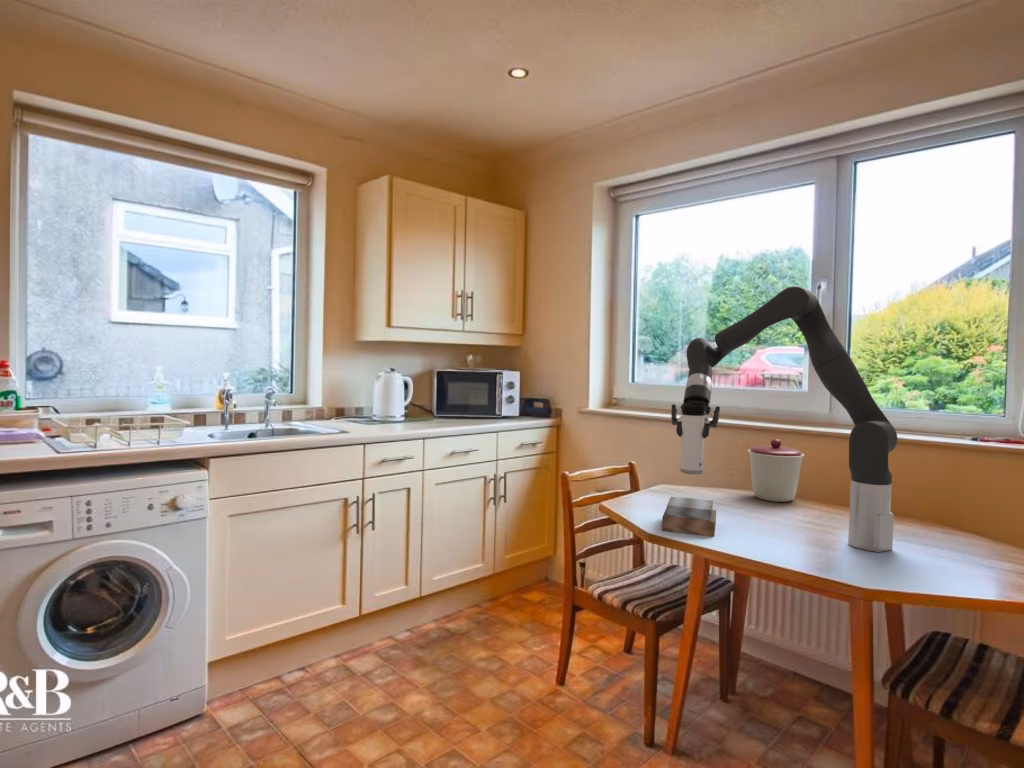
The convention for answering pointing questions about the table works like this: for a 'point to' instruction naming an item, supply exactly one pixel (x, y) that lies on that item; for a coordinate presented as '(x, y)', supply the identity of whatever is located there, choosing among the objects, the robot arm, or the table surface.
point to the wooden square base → (689, 516)
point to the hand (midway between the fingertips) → (692, 435)
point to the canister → (775, 471)
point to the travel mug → (692, 438)
